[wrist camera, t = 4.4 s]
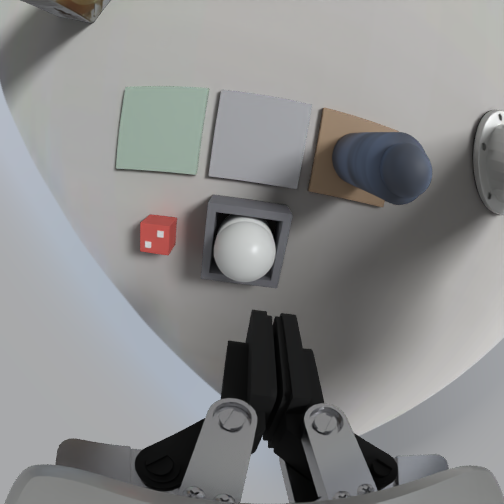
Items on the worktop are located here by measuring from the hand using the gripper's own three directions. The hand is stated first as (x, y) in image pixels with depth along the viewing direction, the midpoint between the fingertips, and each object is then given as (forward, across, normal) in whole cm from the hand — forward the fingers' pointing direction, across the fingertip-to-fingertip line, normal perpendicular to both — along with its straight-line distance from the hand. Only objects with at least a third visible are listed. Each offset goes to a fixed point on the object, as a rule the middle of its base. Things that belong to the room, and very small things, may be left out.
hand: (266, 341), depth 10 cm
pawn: (+13, -7, -7) cm, 17 cm away
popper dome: (+14, +1, +1) cm, 14 cm away
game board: (+13, +1, -3) cm, 14 cm away
